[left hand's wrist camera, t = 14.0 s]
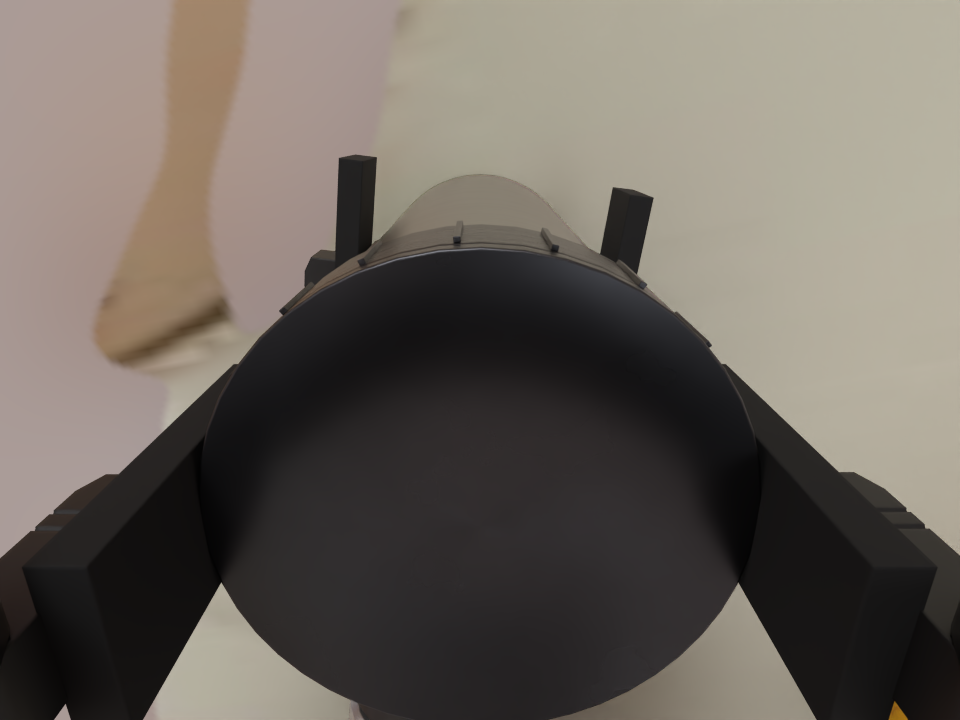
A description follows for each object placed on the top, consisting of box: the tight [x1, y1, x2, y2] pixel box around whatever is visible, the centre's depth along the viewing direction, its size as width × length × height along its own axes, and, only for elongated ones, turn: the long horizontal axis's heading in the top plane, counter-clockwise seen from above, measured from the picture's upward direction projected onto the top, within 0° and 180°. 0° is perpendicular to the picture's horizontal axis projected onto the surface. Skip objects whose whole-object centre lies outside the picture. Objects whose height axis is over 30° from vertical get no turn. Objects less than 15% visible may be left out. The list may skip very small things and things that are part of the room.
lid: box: [199, 221, 761, 720], centre depth 11 cm, size 9×9×2 cm
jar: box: [380, 175, 588, 248], centre depth 19 cm, size 8×8×19 cm
